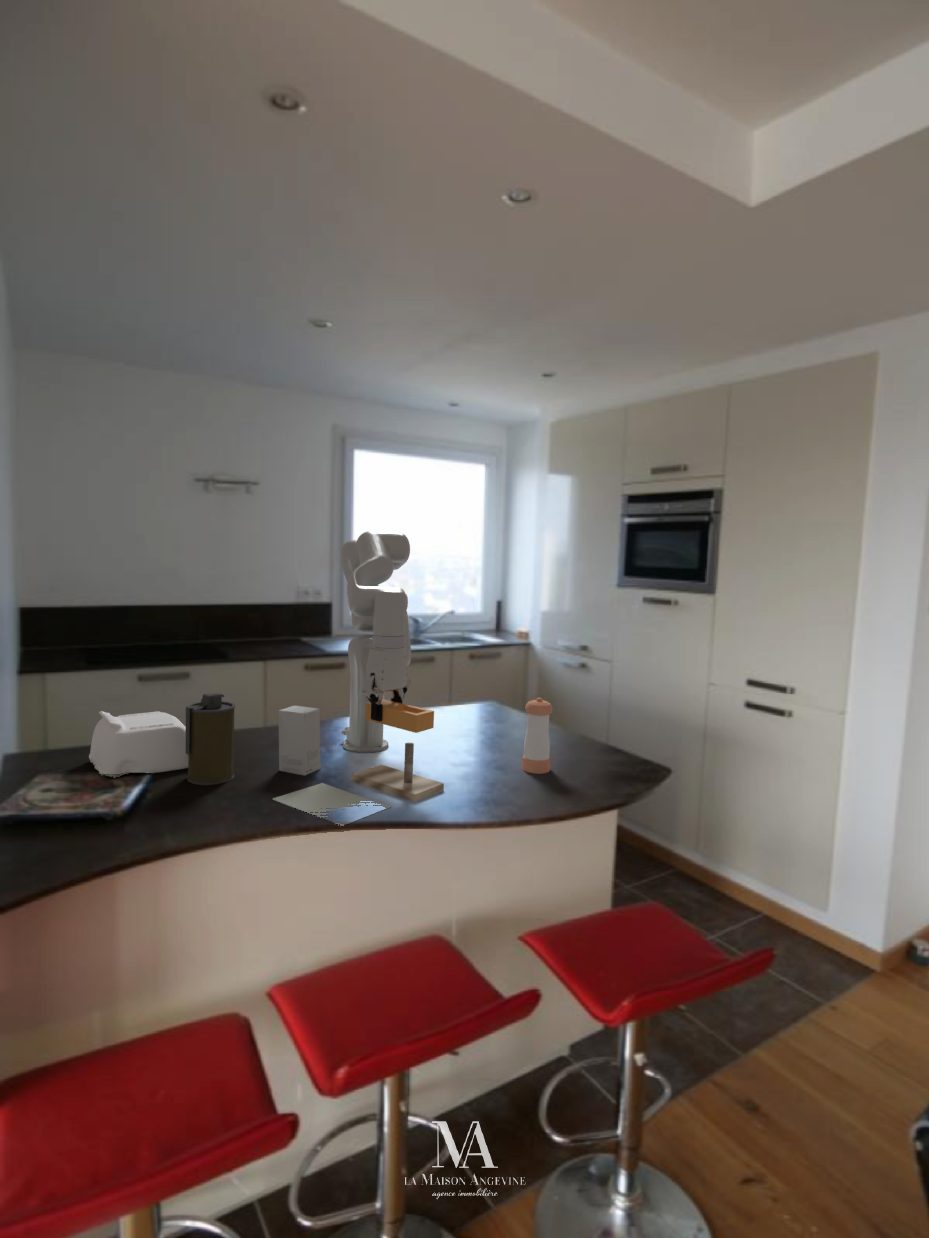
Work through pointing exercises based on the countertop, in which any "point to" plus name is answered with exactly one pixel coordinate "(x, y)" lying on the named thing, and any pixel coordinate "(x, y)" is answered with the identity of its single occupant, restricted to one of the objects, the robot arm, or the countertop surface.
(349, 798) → the mat
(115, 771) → the white toaster
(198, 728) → the canister
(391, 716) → the link
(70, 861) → the countertop surface
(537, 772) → the pepper shaker
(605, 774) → the countertop surface
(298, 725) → the skincare box
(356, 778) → the peg base
